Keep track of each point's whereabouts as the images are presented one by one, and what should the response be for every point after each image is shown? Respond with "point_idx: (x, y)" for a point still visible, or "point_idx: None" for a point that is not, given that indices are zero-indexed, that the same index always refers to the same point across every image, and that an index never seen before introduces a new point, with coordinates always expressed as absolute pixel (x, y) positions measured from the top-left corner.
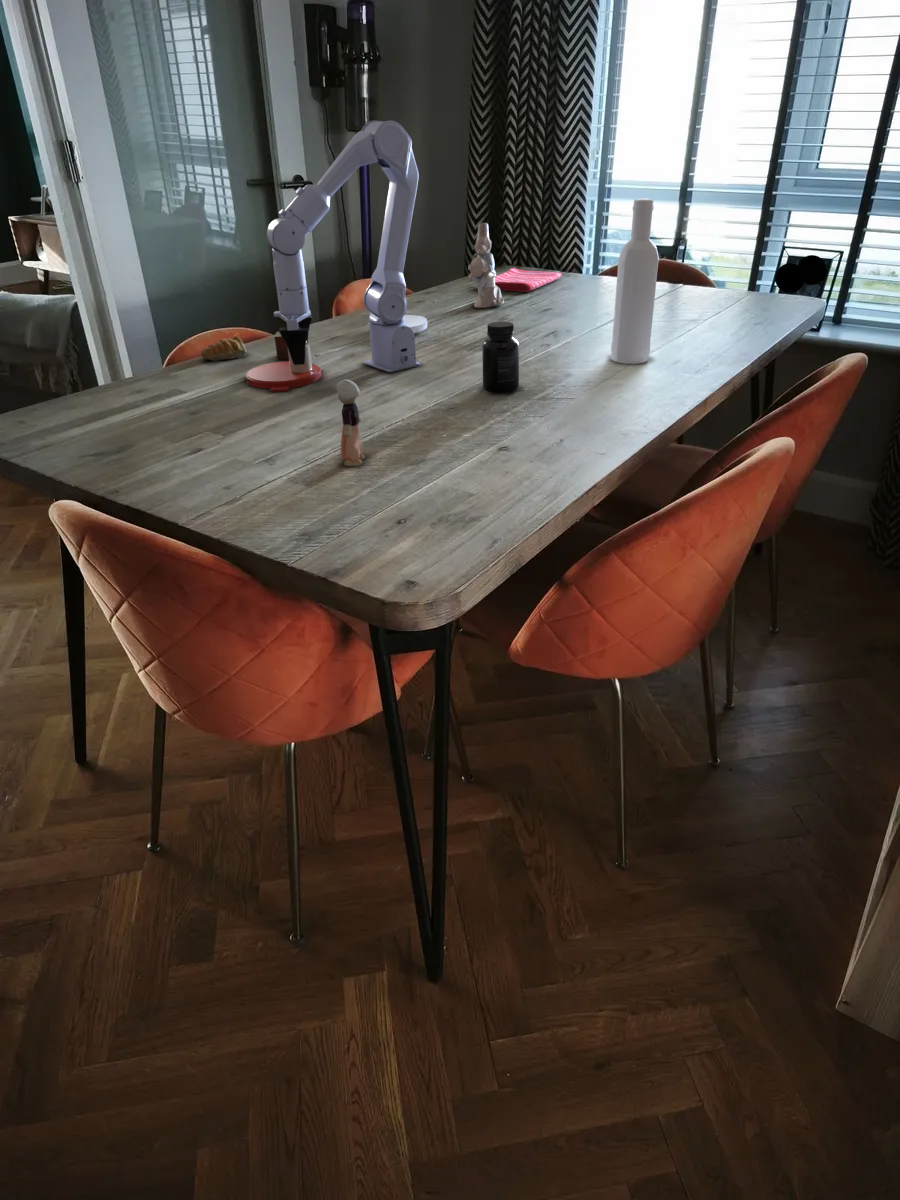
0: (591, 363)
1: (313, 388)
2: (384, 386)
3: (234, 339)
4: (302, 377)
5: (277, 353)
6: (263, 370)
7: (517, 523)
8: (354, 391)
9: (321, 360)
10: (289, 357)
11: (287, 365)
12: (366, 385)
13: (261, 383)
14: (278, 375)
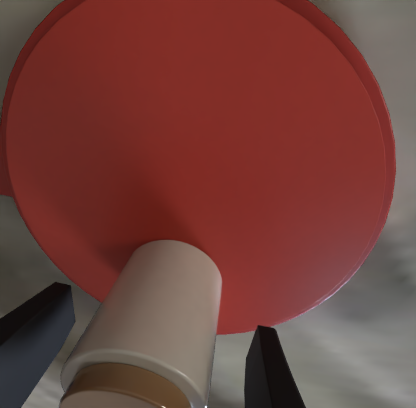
0: None
1: (35, 268)
2: (49, 395)
3: None
4: (62, 266)
5: None
6: (228, 104)
7: None
8: None
9: (393, 350)
10: (123, 291)
11: (277, 239)
12: (59, 374)
13: (12, 78)
14: (103, 179)
